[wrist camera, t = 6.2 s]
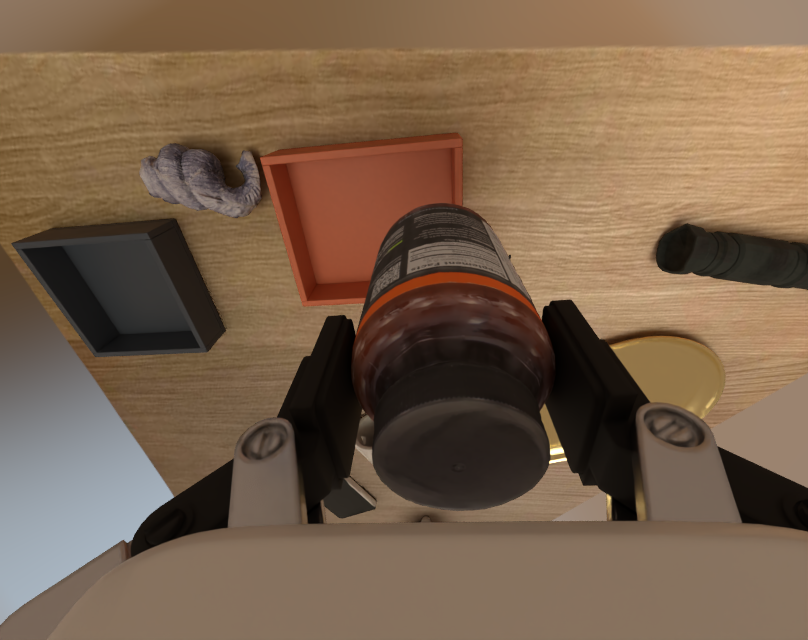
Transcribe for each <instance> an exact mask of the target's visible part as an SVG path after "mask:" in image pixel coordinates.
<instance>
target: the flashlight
mask: <svg viewBox="0 0 808 640" xmlns="http://www.w3.org/2000/svg"><path fill="white" fill-rule="evenodd" d="M656 262H657V264H658V267H659V268H660V269H661V270H662V271H665V272H668V273H672V274H688V273H691V272H693V273H694V274H696V275H699V276H710V277H713V278H716V279H723V280H730V281H737V282H743V283H750V284H757V285H771V286H774V287H778V288H792V287H794V288H801V289H807V290H808V244H803V243H796V242H792V243H789V242H788V241H783V240H777V239H770V238H763V237H757V236H750V235H743V234H736V233H724V232H718V231H717V232H714V233H711V232H706V231H705V230H704V229H703V228H701V227H696V226H693V225H690V224H685V225H683V226H681V227H679V228H676V229H674V230H673V231H671V232H669V233H666V234H665V235H664V236H663V238H662V239H661V240H660V241H659V245H658V248H657V253H656Z"/></svg>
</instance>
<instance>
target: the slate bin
mask: <svg viewBox="0 0 808 640" xmlns="http://www.w3.org/2000/svg"><path fill="white" fill-rule="evenodd" d="M11 244H12V245H13V247H14V248H15V249H16V251H17V252H18V254H19V255H20V256H21V258H22V259H23V260H24V262H25V263H26V264H27V266H28V267H29V268H30V270H31V271H32V272H33V274H34V275H35V276H36V278H37V279H38V281H39V282H40V283H41V285H42V286H43V287H44V289H45V290H46V291H47V293H48V294H49V295H50V297H51V298H52V299H53V301H54V302H55V303H56V305H57V306H58V308H59V309H60V310H61V312H62V313H63V314H64V316H65V317H66V318H67V320H68V321H69V322H70V324H71V325H72V326H73V328H74V329H75V330H76V332H77V333H78V335H79V336H80V337H81V339H82V340H83V341H84V343H85V344H86V345H87V347H88V348H89V349H90V351H91V352H92V353H93V355H94V356H95V357H109V356H132V355H155V354H178V353H201V352H208V351H209V350H210V349H211V348H212V346H213V345H214V344H215V343H216V342H217V340H218V339H219V338H220V337H221V335H222V334H223V333H224V332H225V331H226V330H225V328H224V326H223V323H222V321H221V319H220V317H219V315H218V312H217V310H216V308H215V306H214V303H213V301H212V299H211V297H210V295H209V292H208V290H207V288H206V286H205V284H204V281H203V279H202V277H201V275H200V273H199V270H198V268H197V266H196V264H195V261H194V259H193V257H192V255H191V253H190V250H189V248H188V246H187V244H186V242H185V239H184V237H183V235H182V233H181V231H180V228H179V226H178V224H177V222H176V220H175V219H163V220H151V221H139V222H126V223H114V224H101V225H89V226H76V227H64V228H52V229H49V230H47V231H43V232H41V233H38V234H35V235H32V236H30V237H27V238H24V239H22V240H19V241H16V242H13V243H11Z"/></svg>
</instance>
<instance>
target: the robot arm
mask: <svg viewBox="0 0 808 640" xmlns="http://www.w3.org/2000/svg"><path fill="white" fill-rule="evenodd" d="M542 322H543V324H544V326H545V328H546V330H547V332H548V335H549V337H550V340H551V343H552V347H553V350H554V353H555V360H556V376H555V381H554V386H553V388H552V391H551V393H550V395H549V397H548V399H547V400H546V402H545V405H546V407H547V410H548V412H549V415H550V418H551V420H552V423H553V425H554V428H555V431H556V433H557V436H558V438H559V441H560V443H561V446H562V449H563V451H564V454H565V456H566V459H567V461H568V464H569V467H570V469H571V471H572V472H573V473H578V474H579V476H580V479H581V481H582V484H583V486H587V485H598V488H599V489H600V490H602V491H603V492H605V493H606V506H607V521H519V522H412V523H342V524H327V521H326V514H325V508H324V501H323V499H324V498H325V497H326V496H327V495H329V494H330V491H331V490H341V488H342V483H343V478H349V476H350V471H351V466H352V461H353V455H354V450H355V445H356V439H357V434H358V429H359V423H360V418H361V412H362V407H361V406H360V403H359V401H358V399H357V396H356V393H355V391H354V388H353V384H352V379H351V360H352V350H353V345H354V341H355V337H356V335H355V330H354V326H353V322H352V320H351V319H347V318H346V316H345V315H338V316H328V317H327V318H326V320H325V323H324V325H323V327H322V330H321V332H320V335H319V337H318V339H317V342H316V344H315V347H314V349H313V352H312V354H311V356H306V357H304V358H303V360H302V362H301V364H300V366H299V368H298V371H297V373H296V375H295V378H294V380H293V382H292V384H291V387H290V389H289V391H288V393H287V396H286V398H285V400H284V403H283V405H282V407H281V409H280V412H279V414H278V416H277V418H276V417H273V418H268V419H264V420H262V421H259V422H257V423H255V424H254V425H252V426H251V427H249V428H248V429H247V430H246V431H245V432H244V433H243V434H242V435H241V436H240V438H239V440H238V441H237V443H236V447H235V453H234V459H232V460H231V461H229V462H228V463H226V464H225V465H223V466H222V467H220V468H219V469H217V470H215V471H214V472H212V473H211V474H209V475H208V476H206V477H205V478H203V479H202V480H200V481H199V482H197V483H196V484H194V485H193V486H191V487H190V488H188V489H186V490H185V491H183V492H182V493H180V494H179V495H177V496H176V497H174V498H173V499H171V500H170V501H168V502H167V503H165V504H164V505H162V506H161V507H159V508H158V509H157V510H155V511H154V512H153V513H152V514H150V515H149V516H148V517H147V519H146V520H145V521H144V522H143V523H142V524H141V526H140V527H139V529H138V530H137V532H136V533H135V535H134V538H133V540H132V541H130V542H129V543H126V542H125V541H124V540H122V541H121V542H119V543H118V544H116V545H114V546H113V547H111V548H110V549H108V550H107V551H105V552H104V553H102V554H101V555H99V556H98V557H96V558H94V559H93V560H91V561H90V562H88V563H87V564H85V565H84V566H82V567H81V568H79V569H78V570H76V571H75V572H73V573H71V574H70V575H69V576H67V577H66V578H64V579H62V580H61V581H59V582H58V583H57V584H55V585H53V586H52V587H50V588H49V589H47V590H45V591H44V592H42V593H41V594H39V595H38V596H36V597H35V598H33V599H32V600H30V601H29V602H27V603H26V604H24V605H23V606H21V607H20V608H19V609H18V610H16V611H15V612H14V613H12V614H11V615H10V616H9V617H8V618H7V619H6V620H5V621H4V622H3V623H2V624H1V625H0V640H808V488H806V487H804V486H802V485H800V484H798V483H796V482H793V481H791V480H789V479H787V478H785V477H782V476H780V475H778V474H776V473H774V472H772V471H770V470H767V469H765V468H763V467H761V466H759V465H757V464H755V463H753V462H750V461H748V460H746V459H744V458H742V457H740V456H737V455H735V454H733V453H731V452H729V451H727V450H724V449H722V448H720V447H718V446H717V444H716V441H715V439H714V435H713V433H712V431H711V429H710V428H709V426H708V425H707V424H706V423H705V422H704V421H703V420H702V419H701V418H699V417H698V416H697V415H695V414H694V413H692V412H691V411H688V410H686V409H684V408H682V407H680V406H676V405H673V404H669V403H662V402H653V403H651V402H650V401H649V400H648V398H647V397H646V395H645V394H644V393H643V391H642V390H641V388H640V387H639V386H638V384H637V383H636V382H635V380H634V379H633V377H632V376H631V375H630V373H629V372H628V371H627V369H626V368H625V366H624V365H623V364H622V362H621V361H620V360H619V358H618V357H617V355H616V354H615V353H614V351H613V350H612V348H611V347H610V346H609V344H608V343H607V342H606V341H605V340H602V339H599V338H598V337H597V335H596V334H595V332H594V331H593V330H592V328H591V327H590V325H589V324H588V322H587V321H586V320H585V318H584V317H583V315H582V314H581V312H580V311H579V310H578V308H577V307H576V305H575V304H574V303H573V301H572V300H558V301H551V302H550V304H549V306H545V307H544V309H543V315H542Z"/></svg>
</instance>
